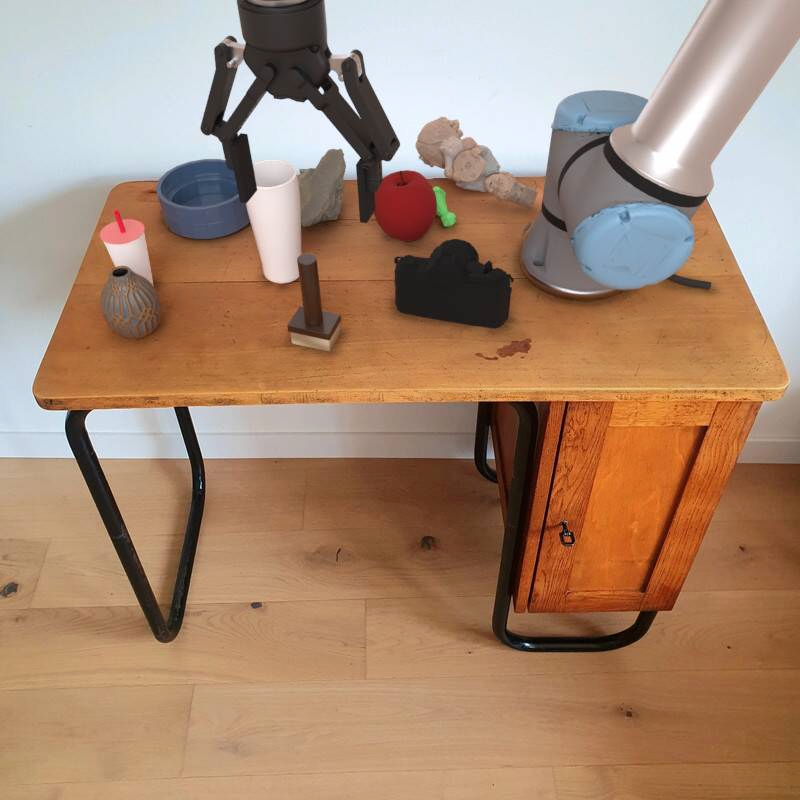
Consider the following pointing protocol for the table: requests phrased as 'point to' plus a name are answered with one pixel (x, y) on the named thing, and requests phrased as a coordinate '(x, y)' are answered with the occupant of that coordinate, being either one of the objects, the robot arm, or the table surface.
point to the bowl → (201, 200)
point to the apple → (405, 205)
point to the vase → (130, 303)
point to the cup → (127, 245)
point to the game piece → (443, 208)
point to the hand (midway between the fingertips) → (307, 206)
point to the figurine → (469, 163)
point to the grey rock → (322, 189)
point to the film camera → (453, 286)
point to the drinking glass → (276, 219)
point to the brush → (312, 311)
